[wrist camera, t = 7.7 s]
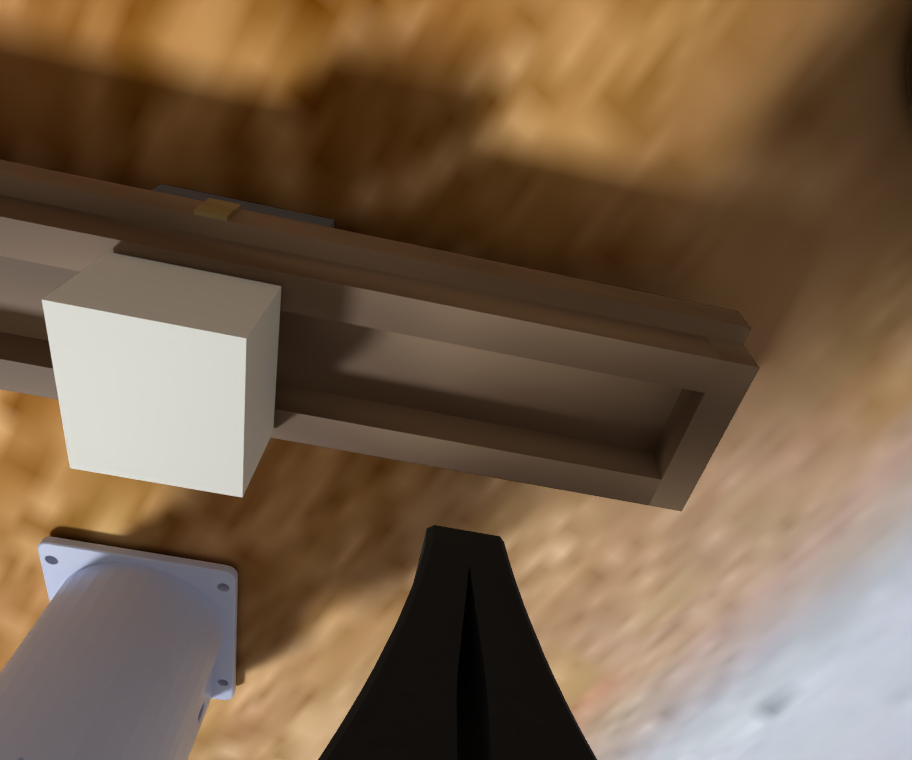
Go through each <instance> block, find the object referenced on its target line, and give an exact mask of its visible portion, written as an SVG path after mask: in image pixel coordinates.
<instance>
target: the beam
mask: <svg viewBox="0 0 912 760" xmlns="http://www.w3.org/2000/svg"><path fill="white" fill-rule="evenodd" d="M334 222H335V220H333V219H329V218H324V217H319V216H314V215H309V214H304V213H300V212H295V211H290V210H285V209H280V208H275V207H271V206H266V205H261V204H256V203H251V202H246V201H242V200H237V199H232V198H227V197H222V196H217V195H213V194H208V193H203V192H198V191H193V190H188V189H184V188H179V187H174V186H169V185H164V184H160V185H158V186H157V187H155V188H153V189H152V190H146V189H141V188H137V187H132V186H127V185H122V184H117V183H112V182H107V181H103V180H98V179H93V178H88V177H83V176H78V175H73V174H69V173H64V172H59V171H54V170H49V169H44V168H39V167H35V166H30V165H25V164H20V163H15V162H10V161H5V160H1V159H0V389H2V390H8V391H13V392H19V393H24V394H30V395H36V396H41V397H47V398H52V399H58V393H57V388H56V382H55V376H54V370H53V364H52V358H51V352H50V346H49V340H48V334H47V328H46V322H45V317H44V311H43V305H42V299H43V298H44V297H46V296H47V295H49V294H50V293H52V292H53V291H54V290H56V289H57V288H59V287H60V286H61V285H63V284H64V283H66V282H67V281H68V280H70V279H71V278H73V277H74V276H75V275H77V274H78V273H80V272H81V271H82V270H84V269H85V268H87V267H88V266H89V265H91V264H92V263H94V262H95V261H97V260H98V259H99V258H101V257H102V256H104V255H105V254H106V253H108V252H111V253H116V254H121V255H126V256H131V257H137V258H142V259H147V260H152V261H157V262H162V263H167V264H172V265H177V266H182V267H187V268H192V269H197V270H202V271H207V272H212V273H217V274H223V275H228V276H233V277H238V278H243V279H248V280H253V281H258V282H263V283H268V284H273V285H278V286H281V304H280V322H279V339H278V357H277V375H276V393H275V410H274V428H273V434H272V436H271V438H276V439H281V440H287V441H293V442H298V443H304V444H309V445H315V446H320V447H326V448H332V449H337V450H343V451H348V452H354V453H360V454H365V455H371V456H376V457H382V458H387V459H393V460H399V461H404V462H410V463H415V464H421V465H427V466H432V467H438V468H443V469H449V470H454V471H460V472H466V473H471V474H477V475H482V476H488V477H494V478H499V479H505V480H510V481H516V482H522V483H527V484H533V485H538V486H544V487H549V488H555V489H561V490H566V491H572V492H577V493H583V494H589V495H594V496H600V497H605V498H611V499H616V500H622V501H628V502H633V503H639V504H644V505H650V506H656V507H661V508H667V509H672V510H678V511H682V510H683V508H684V506H685V504H686V502H687V501H688V499H689V497H690V495H691V493H692V491H693V489H694V488H695V486H696V484H697V482H698V480H699V478H700V477H701V475H702V473H703V471H704V469H705V467H706V465H707V464H708V462H709V460H710V458H711V456H712V454H713V453H714V451H715V449H716V447H717V445H718V443H719V442H720V440H721V438H722V436H723V434H724V432H725V430H726V429H727V427H728V425H729V423H730V421H731V419H732V418H733V416H734V414H735V412H736V410H737V408H738V406H739V405H740V403H741V401H742V399H743V397H744V395H745V394H746V392H747V390H748V388H749V386H750V384H751V383H752V381H753V379H754V377H755V375H756V373H757V371H758V370H759V366H758V365H757V364H756V362H755V361H754V359H753V358H752V357H751V355H750V354H749V353H748V351H747V350H746V348H745V347H744V346H743V343H744V341H745V339H746V337H747V335H748V333H749V331H750V329H751V327H750V326H749V325H748V324H747V322H746V321H745V320H744V318H743V317H742V316H741V315H740V313H739V312H738V311H734V310H729V309H724V308H719V307H715V306H710V305H705V304H700V303H695V302H690V301H685V300H681V299H676V298H671V297H666V296H661V295H656V294H651V293H647V292H642V291H637V290H632V289H627V288H622V287H617V286H613V285H608V284H603V283H598V282H593V281H588V280H583V279H579V278H574V277H569V276H564V275H559V274H554V273H549V272H545V271H540V270H535V269H530V268H525V267H520V266H515V265H511V264H506V263H501V262H496V261H491V260H486V259H481V258H477V257H472V256H467V255H462V254H457V253H452V252H447V251H443V250H438V249H433V248H428V247H423V246H418V245H413V244H409V243H404V242H399V241H394V240H389V239H384V238H379V237H375V236H370V235H365V234H360V233H355V232H350V231H345V230H341V229H336V228H334ZM58 400H59V399H58Z"/></svg>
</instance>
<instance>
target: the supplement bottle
mask: <svg viewBox="0 0 912 760" xmlns="http://www.w3.org/2000/svg"><path fill="white" fill-rule="evenodd" d="M907 90H908V97H909V103H910V106H911V110H912V39H911V44H910V48H909V55H908V62H907Z"/></svg>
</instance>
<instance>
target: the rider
mask: <svg viewBox="0 0 912 760" xmlns="http://www.w3.org/2000/svg"><path fill="white" fill-rule="evenodd" d="M280 304H281V286H278V285H273V284H268V283H263V282H258V281H253V280H248V279H243V278H238V277H233V276H228V275H223V274H217V273H212V272H207V271H202V270H197V269H192V268H187V267H182V266H177V265H172V264H167V263H162V262H157V261H152V260H147V259H142V258H137V257H131V256H126V255H121V254H116V253H111V252H108V253H106V254H105V255H104V256H102V257H101V258H99V259H98V260H97V261H95V262H94V263H92V264H91V265H89V266H88V267H87V268H85V269H84V270H82V271H81V272H80V273H78V274H77V275H75V276H74V277H73V278H71V279H70V280H68V281H67V282H66V283H64V284H63V285H61V286H60V287H59V288H57V289H56V290H54V291H53V292H52V293H50V294H49V295H47V296H46V297H44V298H43V299H42V305H43V311H44V317H45V322H46V328H47V334H48V340H49V346H50V352H51V358H52V364H53V370H54V376H55V382H56V388H57V393H58V399H59V405H60V411H61V417H62V423H63V429H64V435H65V441H66V447H67V453H68V458H69V464H70V468H73V469H79V470H84V471H90V472H96V473H102V474H108V475H114V476H119V477H125V478H131V479H137V480H143V481H149V482H154V483H160V484H166V485H172V486H178V487H184V488H189V489H195V490H201V491H207V492H213V493H219V494H225V495H230V496H236V497H243V495H244V493H245V491H246V489H247V487H248V485H249V483H250V480H251V478H252V476H253V474H254V472H255V470H256V468H257V466H258V463H259V461H260V459H261V457H262V455H263V453H264V451H265V448H266V446H267V444H268V442H269V440H270V438H271V436H272V434H273V428H274V410H275V393H276V375H277V357H278V339H279V322H280Z"/></svg>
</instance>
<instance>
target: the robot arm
mask: <svg viewBox="0 0 912 760" xmlns="http://www.w3.org/2000/svg"><path fill="white" fill-rule="evenodd" d="M38 552H39V556H40V561H41V565H42V570H43V574H44V579H45V583H46V587H47V592H48V596H49V601H50V603H49V604H48V606H47V607H46V609H45V610H44V611H43V613H42V614H41V616H40V617H39V619H38V620H37V621H36V623H35V624H34V626H33V627H32V629H31V630H30V631H29V633H28V634H27V636H26V637H25V638H24V640H23V641H22V643H21V644H20V646H19V647H18V648H17V650H16V651H15V653H14V654H13V656H12V657H11V658H10V660H9V661H8V663H7V664H6V666H5V667H4V668H3V670H2V671H1V673H0V760H188V757H189V755H190V752H191V749H192V747H193V744H194V741H195V739H196V736H197V734H198V731H199V728H200V726H201V723H202V720H203V718H204V715H205V713H206V710H207V707H208V705H209V702H210V699H211V698H215V699H221V700H228V699H231V698H232V697H233V695H234V692H235V689H236V645H237V598H238V573H237V571H236V570H235V569H234V568H233V567H231V566H228V565H224V564H218V563H212V562H205V561H199V560H193V559H187V558H181V557H175V556H169V555H162V554H156V553H150V552H144V551H138V550H132V549H126V548H119V547H113V546H107V545H101V544H95V543H89V542H83V541H76V540H70V539H64V538H58V537H46V538H44V539H43V540H42V541H41V543H40V544H39V545H38ZM318 760H597V759H596V757H595V755H594V753H593V752H592V750H591V748H590V746H589V744H588V743H587V741H586V739H585V737H584V735H583V734H582V732H581V730H580V728H579V726H578V724H577V722H576V720H575V718H574V716H573V715H572V713H571V711H570V709H569V707H568V705H567V703H566V701H565V699H564V696H563V694H562V692H561V690H560V688H559V686H558V684H557V682H556V680H555V678H554V675H553V673H552V671H551V669H550V667H549V664H548V662H547V660H546V658H545V655H544V653H543V651H542V648H541V646H540V643H539V641H538V639H537V636H536V634H535V631H534V629H533V627H532V624H531V622H530V619H529V617H528V614H527V611H526V609H525V606H524V603H523V601H522V598H521V595H520V592H519V589H518V587H517V584H516V581H515V578H514V575H513V572H512V568H511V565H510V562H509V559H508V555H507V552H506V548H505V544H504V541H503V540H502V539H501V537H500V536H494V535H488V534H482V533H477V532H471V531H465V530H459V529H453V528H448V527H442V526H436V525H434V526H432V527H429V528H427V531H426V535H425V539H424V543H423V547H422V551H421V555H420V559H419V563H418V567H417V571H416V575H415V579H414V583H413V586H412V588H411V591H410V593H409V595H408V598H407V600H406V602H405V605H404V607H403V609H402V612H401V614H400V616H399V619H398V621H397V623H396V625H395V627H394V630H393V632H392V633H391V635H390V637H389V639H388V641H387V643H386V645H385V647H384V649H383V651H382V653H381V655H380V657H379V659H378V661H377V663H376V665H375V667H374V669H373V670H372V672H371V674H370V676H369V678H368V679H367V681H366V683H365V685H364V687H363V688H362V690H361V692H360V694H359V695H358V697H357V699H356V700H355V702H354V704H353V705H352V707H351V709H350V710H349V712H348V714H347V715H346V717H345V719H344V720H343V722H342V724H341V725H340V727H339V728H338V730H337V731H336V733H335V734H334V736H333V738H332V739H331V741H330V742H329V744H328V745H327V747H326V748H325V750H324V752H323V753H322V755H321V756H320V758H319V759H318Z"/></svg>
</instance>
